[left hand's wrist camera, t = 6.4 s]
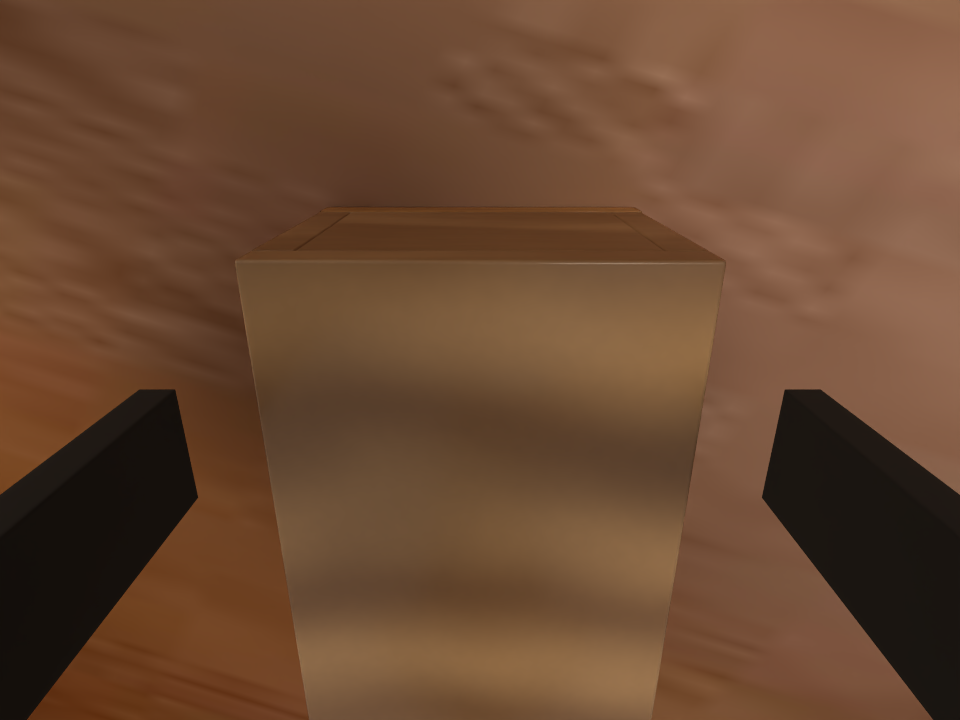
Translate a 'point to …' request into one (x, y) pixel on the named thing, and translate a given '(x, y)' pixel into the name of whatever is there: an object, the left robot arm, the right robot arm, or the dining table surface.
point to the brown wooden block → (480, 452)
